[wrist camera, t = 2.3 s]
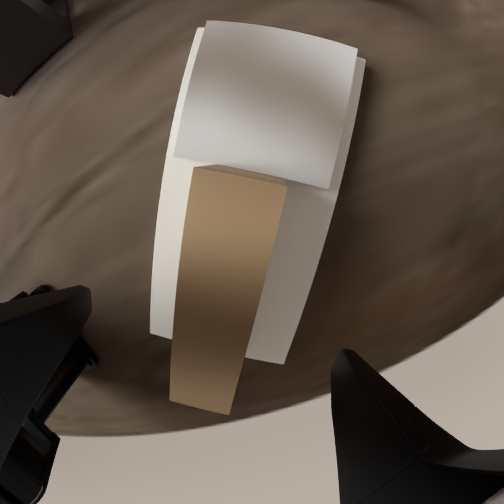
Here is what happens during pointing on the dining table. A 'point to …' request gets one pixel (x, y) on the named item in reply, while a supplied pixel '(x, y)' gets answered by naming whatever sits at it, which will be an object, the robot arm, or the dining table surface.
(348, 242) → the dining table surface
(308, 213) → the tool rest
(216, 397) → the turner
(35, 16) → the phone stand
